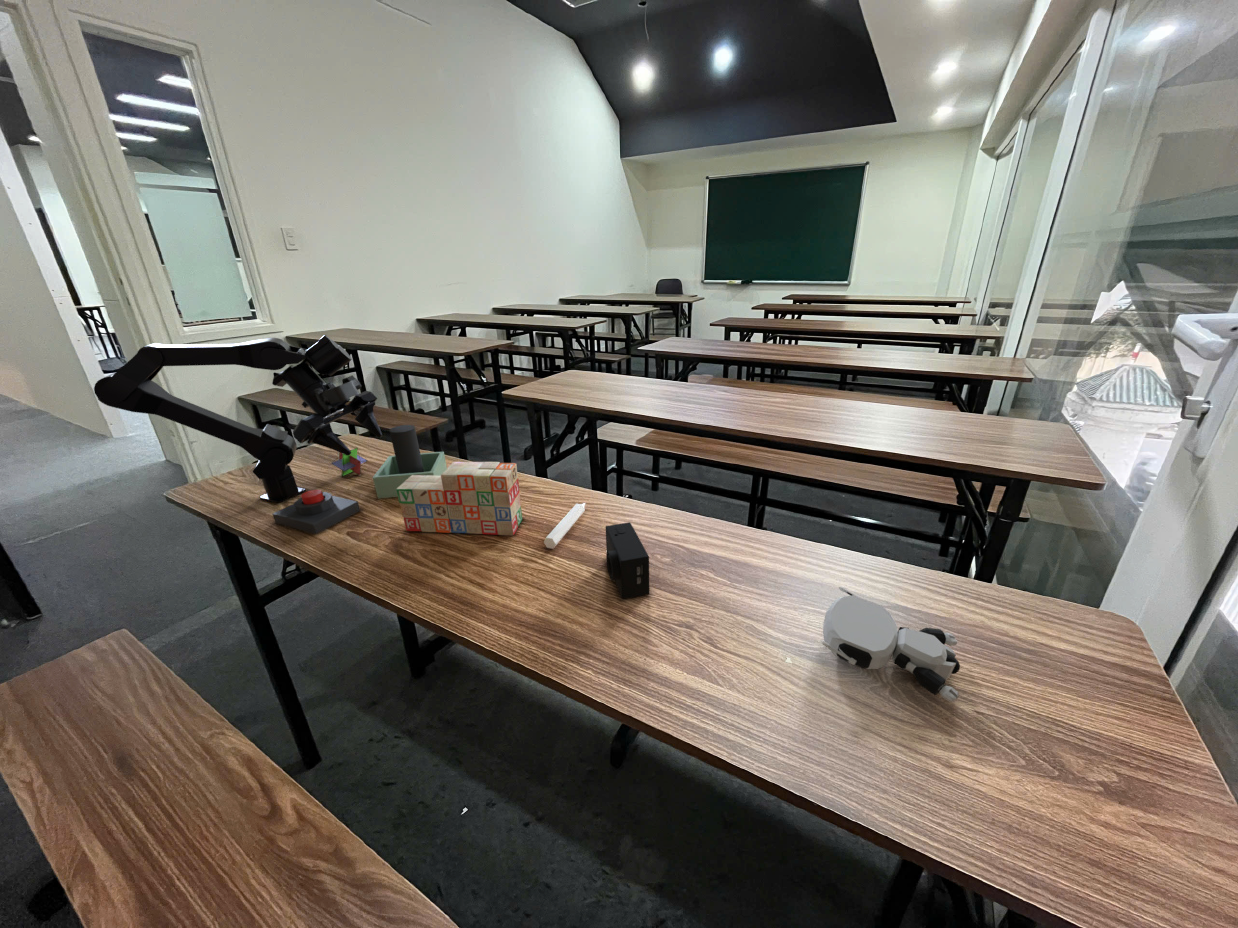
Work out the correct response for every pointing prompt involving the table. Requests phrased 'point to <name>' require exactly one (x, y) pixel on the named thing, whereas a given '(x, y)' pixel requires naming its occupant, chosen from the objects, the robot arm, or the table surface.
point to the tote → (391, 479)
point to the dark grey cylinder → (406, 449)
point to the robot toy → (889, 643)
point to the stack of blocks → (463, 499)
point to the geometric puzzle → (349, 462)
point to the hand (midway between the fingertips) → (366, 445)
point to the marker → (564, 526)
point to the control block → (316, 513)
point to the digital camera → (627, 560)
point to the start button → (312, 497)
